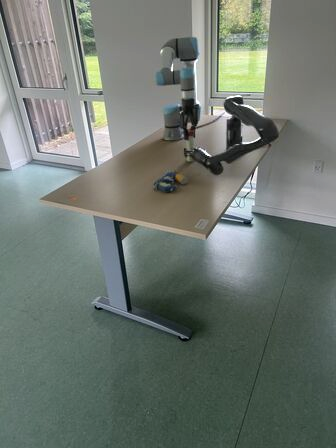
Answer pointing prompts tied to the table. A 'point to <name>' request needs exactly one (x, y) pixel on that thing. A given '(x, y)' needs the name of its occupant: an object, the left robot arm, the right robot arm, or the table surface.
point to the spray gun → (169, 181)
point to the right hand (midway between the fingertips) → (188, 148)
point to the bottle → (190, 146)
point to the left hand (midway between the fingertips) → (189, 138)
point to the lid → (190, 132)
